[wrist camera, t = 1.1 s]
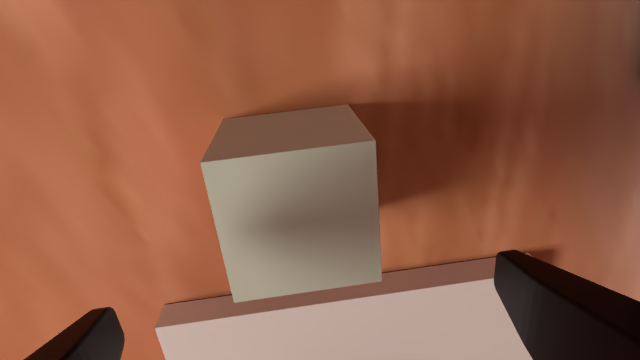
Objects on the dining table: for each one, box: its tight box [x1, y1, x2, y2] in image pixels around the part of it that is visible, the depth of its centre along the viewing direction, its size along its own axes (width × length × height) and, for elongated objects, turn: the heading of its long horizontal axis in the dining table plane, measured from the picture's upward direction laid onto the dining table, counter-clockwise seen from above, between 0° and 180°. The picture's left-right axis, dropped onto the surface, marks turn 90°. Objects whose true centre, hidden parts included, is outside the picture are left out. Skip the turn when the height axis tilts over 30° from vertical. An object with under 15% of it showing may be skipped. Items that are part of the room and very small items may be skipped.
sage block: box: [200, 104, 382, 303], centre depth 14 cm, size 5×5×5 cm
